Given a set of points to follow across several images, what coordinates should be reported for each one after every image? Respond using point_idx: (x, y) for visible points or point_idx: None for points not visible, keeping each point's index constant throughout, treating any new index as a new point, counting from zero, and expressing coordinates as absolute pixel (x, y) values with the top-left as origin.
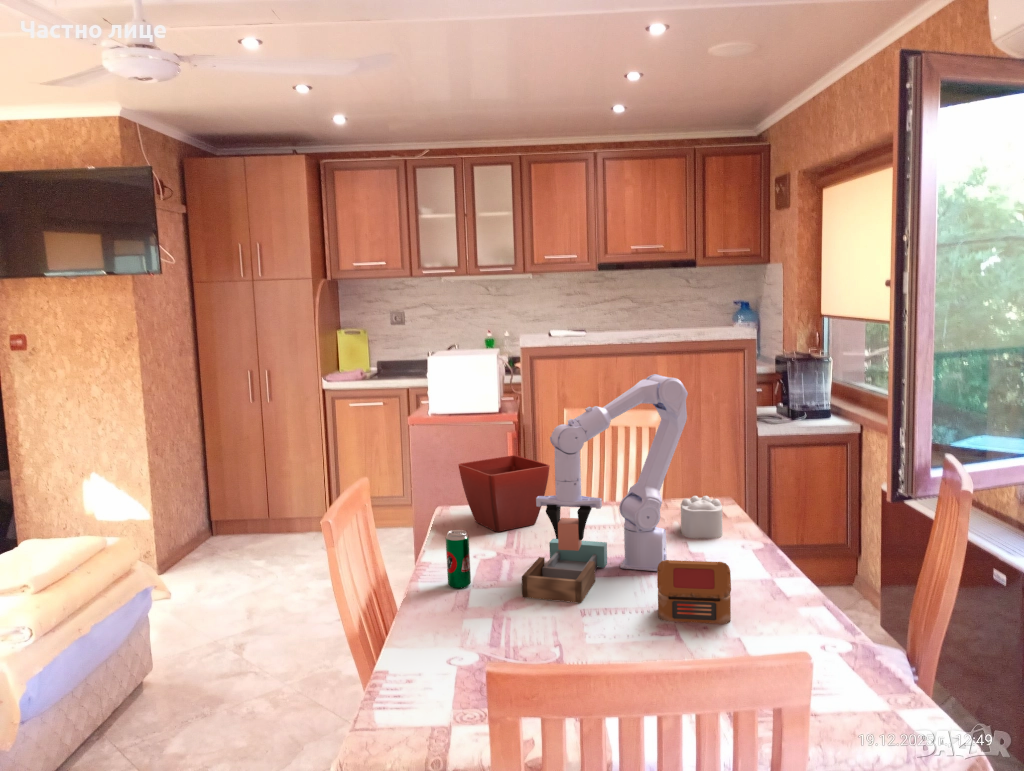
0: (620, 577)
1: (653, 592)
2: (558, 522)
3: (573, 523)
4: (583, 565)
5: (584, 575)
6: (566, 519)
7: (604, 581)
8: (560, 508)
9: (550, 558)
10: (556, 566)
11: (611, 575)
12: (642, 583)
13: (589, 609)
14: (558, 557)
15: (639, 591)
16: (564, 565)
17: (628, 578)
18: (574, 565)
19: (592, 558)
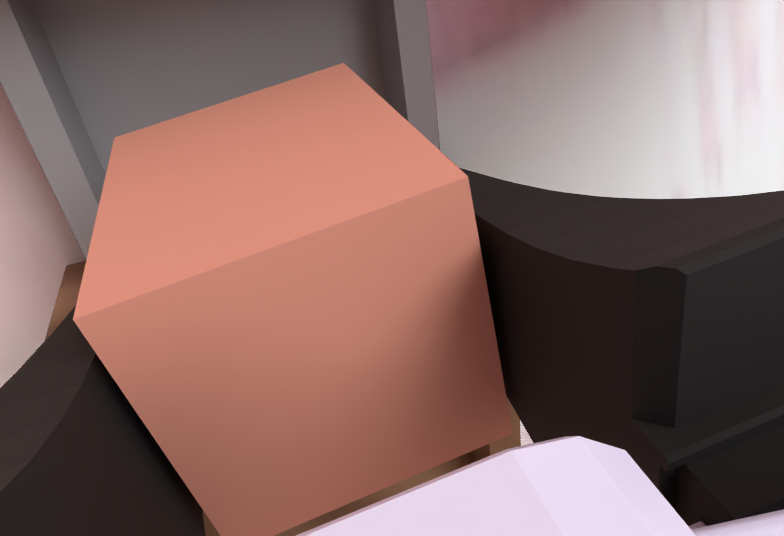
0: (582, 23)
1: (759, 157)
2: (214, 523)
3: (444, 439)
4: (307, 14)
5: (516, 432)
6: (242, 354)
7: (503, 136)
8: (6, 477)
9: (58, 200)
10: (107, 137)
11: (520, 13)
12: (711, 63)
13: (522, 437)
14: (30, 23)
15: (697, 178)
16: (156, 86)
17: (631, 18)
18: (237, 49)
19: (415, 27)
